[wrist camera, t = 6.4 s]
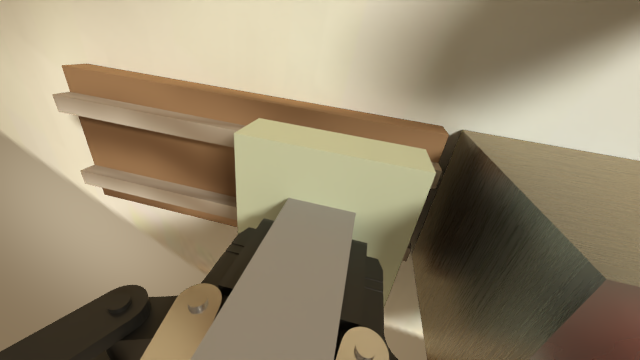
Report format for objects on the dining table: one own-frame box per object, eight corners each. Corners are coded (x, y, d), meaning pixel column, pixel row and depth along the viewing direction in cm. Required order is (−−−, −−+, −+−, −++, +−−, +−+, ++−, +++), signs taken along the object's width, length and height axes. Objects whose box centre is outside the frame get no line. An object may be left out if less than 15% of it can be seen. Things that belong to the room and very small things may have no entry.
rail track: (86, 63, 16) (42, 66, 14) (442, 126, 14) (454, 141, 12) (122, 185, 21) (91, 201, 19) (397, 250, 18) (399, 278, 16)
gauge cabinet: (461, 129, 14) (606, 279, 5) (655, 163, 12) (1285, 434, 4) (411, 254, 18) (440, 450, 9) (551, 287, 17) (734, 546, 8)
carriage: (259, 118, 13) (28, 254, 4) (425, 149, 12) (535, 401, 3) (257, 240, 16) (134, 436, 8) (382, 272, 15) (385, 530, 7)
